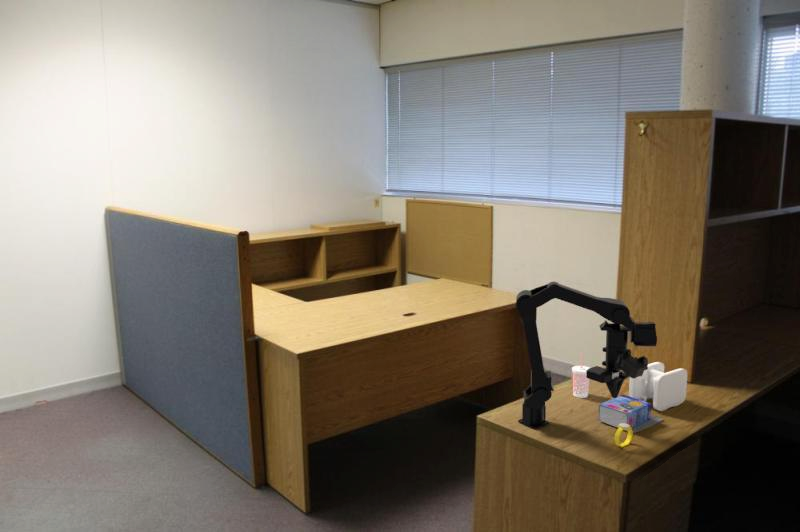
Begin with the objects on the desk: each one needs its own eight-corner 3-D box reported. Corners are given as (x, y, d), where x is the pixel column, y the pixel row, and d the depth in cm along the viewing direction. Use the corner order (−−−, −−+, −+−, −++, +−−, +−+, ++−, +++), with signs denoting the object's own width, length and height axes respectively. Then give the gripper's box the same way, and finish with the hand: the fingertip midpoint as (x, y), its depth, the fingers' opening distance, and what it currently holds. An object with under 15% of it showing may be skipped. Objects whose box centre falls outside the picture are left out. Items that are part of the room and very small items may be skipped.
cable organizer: (655, 414, 201) (657, 378, 199) (626, 403, 210) (628, 368, 207) (686, 403, 209) (688, 368, 206) (657, 393, 217) (659, 359, 215)
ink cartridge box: (598, 402, 195) (626, 391, 204) (597, 420, 196) (625, 408, 205) (628, 413, 188) (656, 401, 197) (627, 431, 189) (655, 418, 198)
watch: (625, 441, 184) (627, 421, 183) (634, 445, 182) (636, 424, 181) (611, 446, 181) (613, 425, 180) (620, 449, 178) (621, 428, 178)
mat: (632, 433, 188) (632, 432, 188) (597, 420, 198) (597, 418, 198) (664, 420, 196) (664, 419, 196) (629, 407, 206) (629, 406, 206)
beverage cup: (584, 390, 221) (585, 350, 218) (594, 397, 215) (595, 355, 212) (567, 392, 219) (568, 351, 217) (577, 399, 213) (578, 357, 211)
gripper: (619, 359, 176) (617, 414, 179) (662, 345, 186) (659, 398, 189) (585, 348, 185) (584, 402, 188) (628, 336, 195) (626, 387, 198)
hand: (614, 397), depth 191 cm, fingers closed
